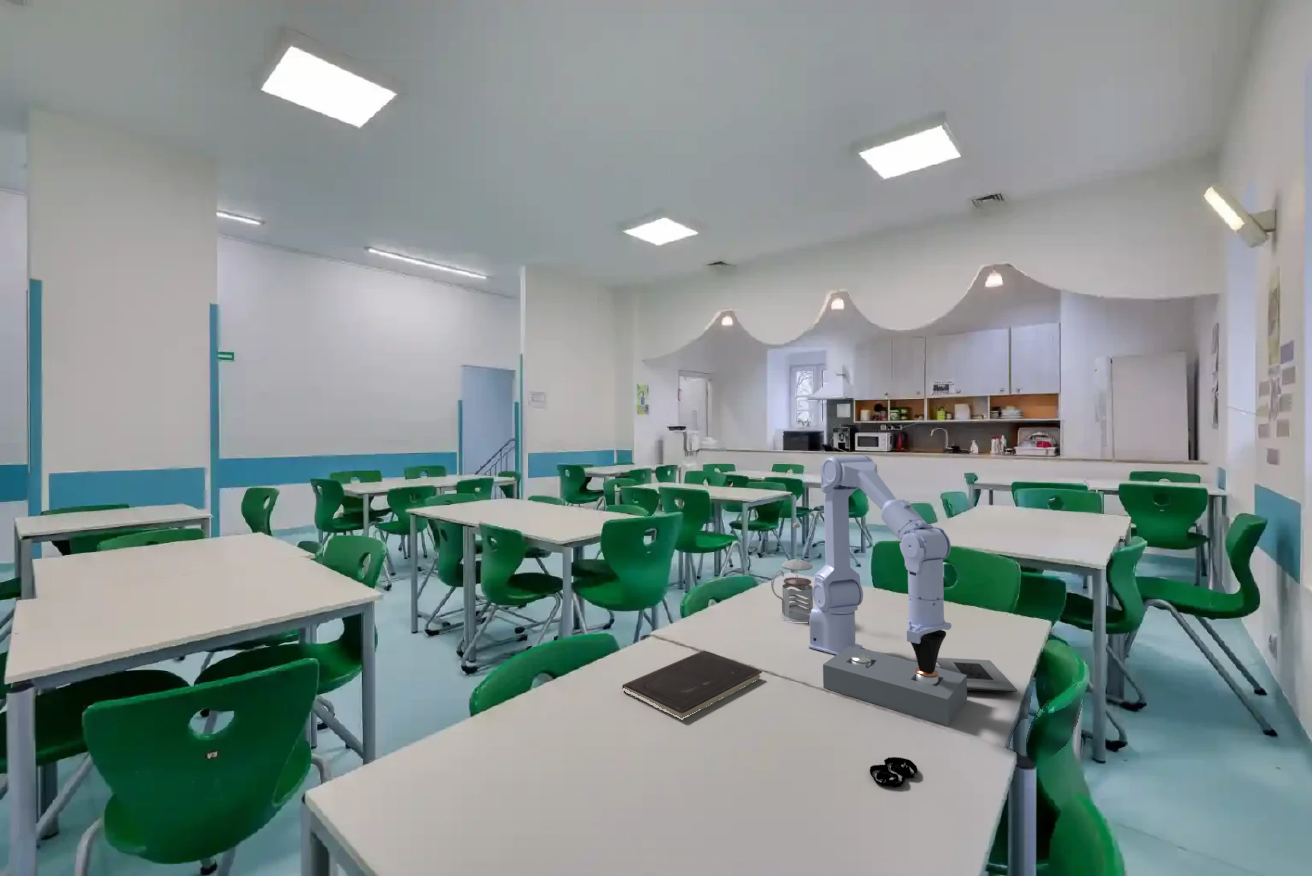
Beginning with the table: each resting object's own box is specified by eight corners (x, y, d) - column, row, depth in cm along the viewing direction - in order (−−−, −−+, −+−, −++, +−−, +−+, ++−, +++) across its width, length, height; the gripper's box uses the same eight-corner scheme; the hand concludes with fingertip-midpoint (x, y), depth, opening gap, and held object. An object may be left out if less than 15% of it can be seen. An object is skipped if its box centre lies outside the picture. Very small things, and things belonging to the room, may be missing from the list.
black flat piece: (926, 775, 81) (925, 767, 81) (893, 796, 77) (892, 788, 77) (894, 759, 86) (894, 752, 86) (861, 778, 81) (861, 771, 81)
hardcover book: (762, 682, 113) (761, 670, 113) (682, 725, 97) (681, 712, 97) (702, 659, 125) (702, 649, 125) (622, 695, 109) (621, 683, 109)
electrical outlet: (1017, 700, 103) (1016, 687, 103) (954, 696, 105) (954, 683, 105) (989, 670, 116) (989, 658, 116) (934, 667, 118) (934, 656, 118)
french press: (821, 623, 144) (820, 525, 144) (776, 624, 144) (774, 526, 144) (811, 611, 154) (810, 519, 154) (769, 611, 154) (767, 520, 154)
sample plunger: (848, 682, 110) (848, 658, 110) (856, 676, 112) (855, 652, 112) (867, 687, 107) (866, 663, 107) (874, 681, 110) (874, 657, 110)
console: (823, 687, 109) (822, 664, 109) (849, 667, 118) (849, 646, 118) (947, 726, 94) (947, 699, 94) (967, 699, 103) (966, 675, 103)
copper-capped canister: (913, 697, 102) (913, 671, 101) (919, 690, 104) (919, 665, 104) (934, 703, 99) (934, 677, 99) (941, 696, 102) (940, 670, 102)
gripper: (937, 610, 93) (938, 692, 94) (961, 590, 104) (962, 664, 104) (893, 602, 98) (895, 680, 98) (920, 584, 109) (922, 654, 109)
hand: (926, 671), depth 102 cm, fingers closed, pressing on copper-capped canister
